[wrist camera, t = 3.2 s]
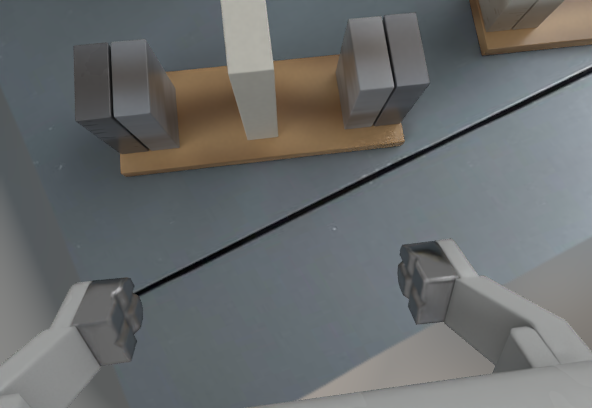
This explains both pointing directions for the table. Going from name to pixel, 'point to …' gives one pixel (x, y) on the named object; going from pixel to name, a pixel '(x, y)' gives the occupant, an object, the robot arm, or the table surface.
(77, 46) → the grey book rack
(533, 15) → the white book rack
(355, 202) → the table surface
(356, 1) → the table surface
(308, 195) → the table surface
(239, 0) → the tall white book
